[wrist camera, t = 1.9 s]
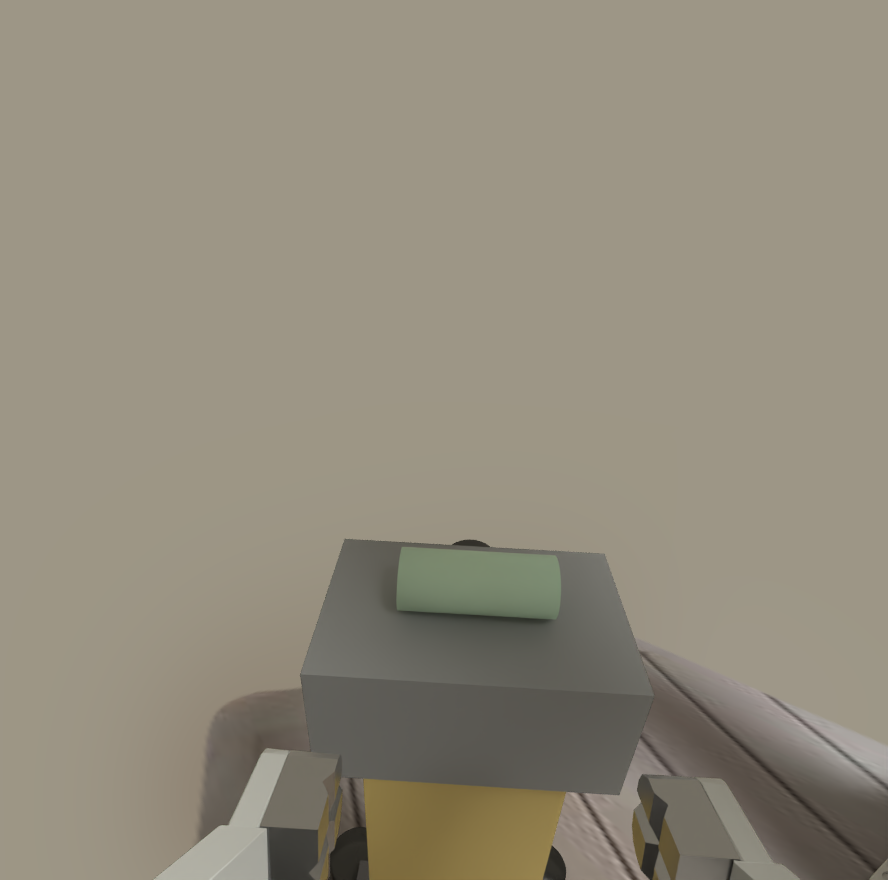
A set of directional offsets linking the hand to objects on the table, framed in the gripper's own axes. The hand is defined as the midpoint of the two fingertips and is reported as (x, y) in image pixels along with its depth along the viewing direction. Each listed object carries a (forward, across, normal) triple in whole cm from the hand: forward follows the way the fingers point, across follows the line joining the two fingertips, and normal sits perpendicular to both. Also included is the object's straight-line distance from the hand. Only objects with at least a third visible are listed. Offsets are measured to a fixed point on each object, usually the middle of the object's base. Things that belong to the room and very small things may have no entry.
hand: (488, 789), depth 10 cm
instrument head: (+14, 0, +23) cm, 27 cm away
